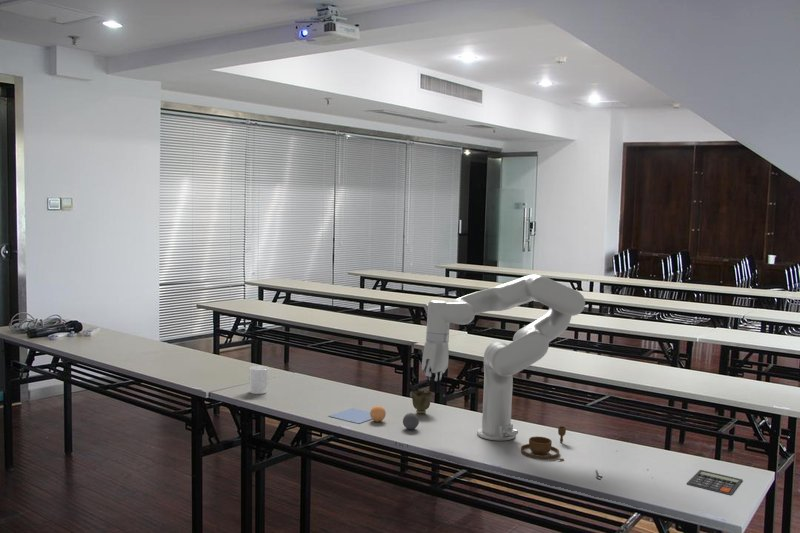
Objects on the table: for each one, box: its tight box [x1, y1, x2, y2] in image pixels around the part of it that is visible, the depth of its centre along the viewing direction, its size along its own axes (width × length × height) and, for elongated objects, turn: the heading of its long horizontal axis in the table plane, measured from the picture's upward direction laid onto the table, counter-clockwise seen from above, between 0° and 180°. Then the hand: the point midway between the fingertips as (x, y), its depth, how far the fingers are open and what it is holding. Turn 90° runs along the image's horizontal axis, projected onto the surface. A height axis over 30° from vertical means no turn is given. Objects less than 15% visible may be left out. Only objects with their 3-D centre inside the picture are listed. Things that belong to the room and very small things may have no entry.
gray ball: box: [402, 412, 420, 431], centre depth 237 cm, size 6×6×6 cm
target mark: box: [328, 407, 373, 425], centre depth 251 cm, size 14×14×1 cm
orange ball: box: [369, 405, 387, 423], centre depth 245 cm, size 6×6×6 cm
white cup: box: [248, 365, 270, 395], centre depth 280 cm, size 8×8×10 cm
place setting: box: [520, 425, 567, 462], centre depth 219 cm, size 18×20×6 cm
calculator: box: [686, 469, 743, 496], centre depth 197 cm, size 12×1×15 cm
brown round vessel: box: [411, 389, 433, 415], centre depth 257 cm, size 8×7×8 cm
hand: (434, 391), depth 231 cm, fingers closed
